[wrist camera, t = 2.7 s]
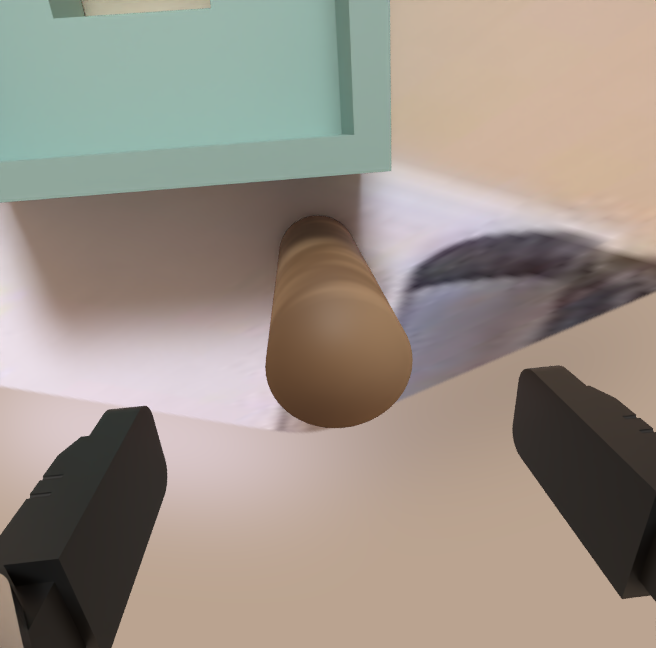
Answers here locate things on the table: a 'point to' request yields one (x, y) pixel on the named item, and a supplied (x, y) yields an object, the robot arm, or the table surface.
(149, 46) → the bore box
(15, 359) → the table surface
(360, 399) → the walnut peg
